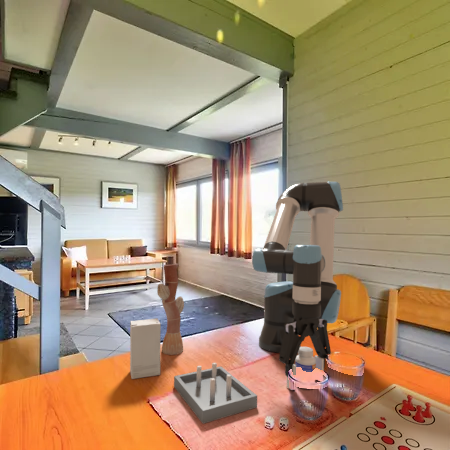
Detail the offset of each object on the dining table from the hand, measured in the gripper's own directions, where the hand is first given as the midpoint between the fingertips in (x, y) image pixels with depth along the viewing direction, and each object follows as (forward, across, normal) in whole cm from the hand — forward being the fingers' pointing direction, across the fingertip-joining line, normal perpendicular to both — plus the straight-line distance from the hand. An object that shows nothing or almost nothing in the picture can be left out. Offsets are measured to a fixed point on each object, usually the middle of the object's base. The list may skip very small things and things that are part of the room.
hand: (305, 384), depth 83 cm
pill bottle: (0, 0, 0) cm, 0 cm away
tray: (0, -25, +6) cm, 26 cm away
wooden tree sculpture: (0, -25, +39) cm, 46 cm away
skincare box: (0, -37, +26) cm, 45 cm away
